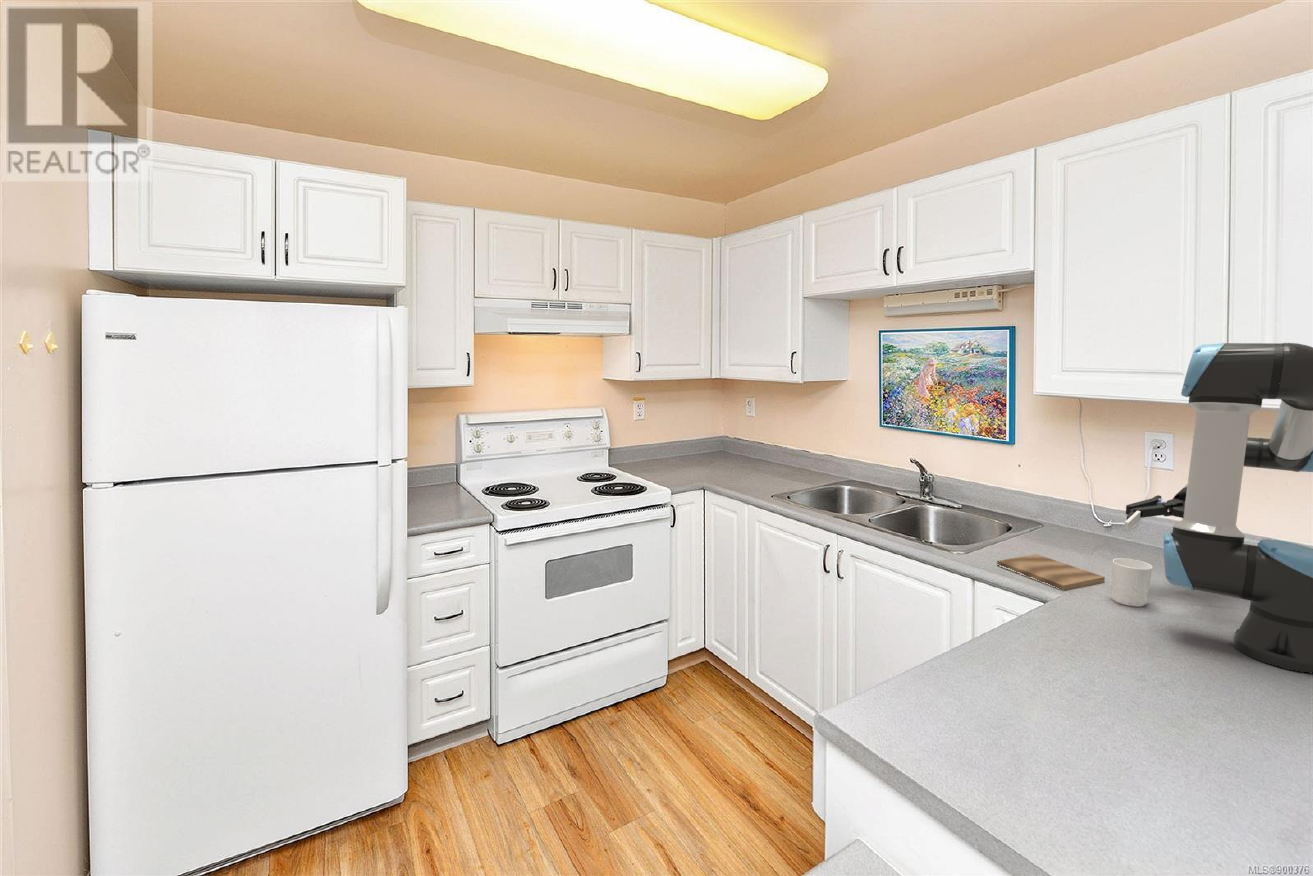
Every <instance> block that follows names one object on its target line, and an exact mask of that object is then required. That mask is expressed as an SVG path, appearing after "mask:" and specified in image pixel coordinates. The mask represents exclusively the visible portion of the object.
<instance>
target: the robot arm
mask: <svg viewBox="0 0 1313 876" xmlns="http://www.w3.org/2000/svg"><path fill="white" fill-rule="evenodd" d="M1180 394H1181V396H1182V397H1185V398H1188V406H1189V407H1190V408H1192V409H1193V410H1194V411H1195V414H1196V415H1195V421H1194V429H1193V436H1192V437H1193V439H1192V447H1191V455H1190V461H1189V470H1188V471H1189V472H1188V476H1187V477H1188V478H1187V484H1186V485H1184V486H1183V487H1182V489H1180V490H1179V491H1178V492H1177V493H1175V495H1174V496H1173V498H1172V499H1168V500H1166V499H1163V498H1162V496H1161V495H1159V494H1157V495H1155V496H1153V497H1152V498H1148V499H1145V500H1140V501H1137V502H1133V503H1130V504H1126V506H1125V515H1126V520H1125V521H1124V525H1123V526H1124V528H1123V531H1124V532H1129V531H1130V530H1131V529H1132V528H1133V527H1135V525H1136V524H1138V523H1139V522H1140V521H1141V518H1143V519H1144V518H1149V517H1157V516H1160V517H1161V516H1164V517H1175V518H1181V520H1180V521H1178V522H1175V524H1173V526H1172V531H1166V532H1164V533H1163V563H1164V564H1163V566H1164V575H1165V579H1166V581H1167V582H1169V584H1170V585H1172V586H1173V585H1174V586H1176V587H1180V588H1184V589H1189V590H1191V591H1199V592H1205V593H1209V594H1215V595H1220V596H1224V597H1229V598H1230V597H1231V598H1235V599H1240V600H1244V601H1250V602H1249V603H1250V604H1249V610H1248V613H1247V614H1246V616H1245V617H1244V619H1243V621H1242V622H1241V624H1240V626H1239V627H1238V628H1237V629H1236V631H1234V634H1233V641H1232V644H1233V647H1235V649H1236V650H1238V651H1239V652H1241V653H1242V654H1244V655H1246V656H1248V657H1250V658H1252V659H1254V660H1257V661H1259V662H1262V663H1265V664H1268V665H1271V664H1272V665H1271V666H1274V665H1276V666H1275V667H1277V666H1280V667H1279V668H1281V667H1282V669H1285V668H1289V669H1292V670H1291V671H1293V670H1296V671H1295V672H1298V671H1300V672H1299V673H1304V672H1309V673H1308V674H1312V673H1311V672H1313V548H1311V547H1308V546H1305V545H1302V544H1297V543H1294V542H1290V541H1285V540H1279V539H1269V538H1263V539H1261V540H1259V542H1257V545H1254V544H1247V543H1245V537H1246V536H1245V534H1244V533H1243V532H1242V531H1241V530H1240V529H1239V528H1238V526H1237V522H1238V521H1237V520H1238V512H1239V504H1240V497H1241V489H1242V482H1243V474H1244V467H1246V468H1248V467H1249V468H1259V469H1269V470H1279V471H1289V472H1295V473H1299V472H1302V473H1303V472H1306V473H1313V347H1312V346H1311V345H1306V344H1301V343H1297V342H1296V343H1295V342H1282V343H1279V342H1278V343H1276V342H1275V343H1271V342H1265V343H1264V342H1263V343H1261V342H1255V343H1254V342H1251V343H1250V342H1247V343H1246V342H1244V343H1242V342H1240V343H1239V342H1222V343H1221V342H1220V343H1210V344H1209V343H1208V344H1201V345H1198V346H1197V347H1196V348H1195V349H1194V351H1192V354H1191V358H1190V360H1189V363H1188V366H1187V370H1186V374H1185V377H1184V381H1183V385H1182V389H1181V392H1180ZM1264 400H1280V401H1281V402H1280V404H1279V408H1278V412H1277V415H1276V418H1275V421H1274V425H1273V428H1272V432H1271V435H1270V438H1264V437H1263V438H1262V437H1248V434H1249V426H1250V419H1251V416H1252V414H1254V413H1255V412H1257V411H1258V410H1260V409H1262V405H1263V401H1264ZM1289 669H1288V670H1289Z"/></svg>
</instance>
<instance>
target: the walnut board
mask: <svg viewBox="0 0 1313 876" xmlns="http://www.w3.org/2000/svg"><path fill="white" fill-rule="evenodd" d="M997 564H999V565H1001V566H1004V567H1006V568H1010V569H1012V570H1014V571H1016V572H1020V573H1022V574H1024V575H1026V576H1028V577H1033V578H1035V579H1037V580H1039V581H1041V582H1045V583H1048V584H1050V585H1052V586H1055V587H1057V588H1059V589H1061V590H1060V591H1062V590H1065V591H1069V590H1075V589H1079V588H1083V587H1088V586H1093V585H1099V584H1102V583H1105V581H1106V580H1105V579H1106V577H1105V576H1103V575H1100V574H1097V573H1094V572H1091V571H1088V570H1085V569H1082V568H1079V567H1076V566H1074V565H1073V566H1072V565H1070V564H1067V563H1064V562H1061V561H1058V560H1055V559H1053V558H1049V557H1046V556H1043V555H1040V554H1038V553H1035V554H1030V555H1023V556H1017V557H1013V558H1007V559H1001V560H997V561H996V565H997ZM1028 577H1027V578H1028ZM1041 582H1040V583H1041ZM1052 586H1051V587H1052ZM1057 588H1056V589H1057ZM1059 589H1058V590H1059Z"/></svg>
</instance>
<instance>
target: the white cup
mask: <svg viewBox="0 0 1313 876" xmlns="http://www.w3.org/2000/svg"><path fill="white" fill-rule="evenodd" d="M1111 562H1112V568H1111V599H1112V600H1113V601H1114V602H1116V603H1118V604H1121V605H1124V606H1128V607H1129V606H1130V607H1137V608H1138V607H1143V606H1146V601H1147V595H1148V594H1149V589H1150V585H1151V584H1150V583H1151V578H1152V572H1153V565H1151V564H1150V563H1148V562H1144V561H1142V560H1138V559H1132V558H1127V557H1126V558H1125V557H1121V558H1119V557H1118V558H1117V557H1116V558H1114V559H1113V560H1112V561H1111Z"/></svg>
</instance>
